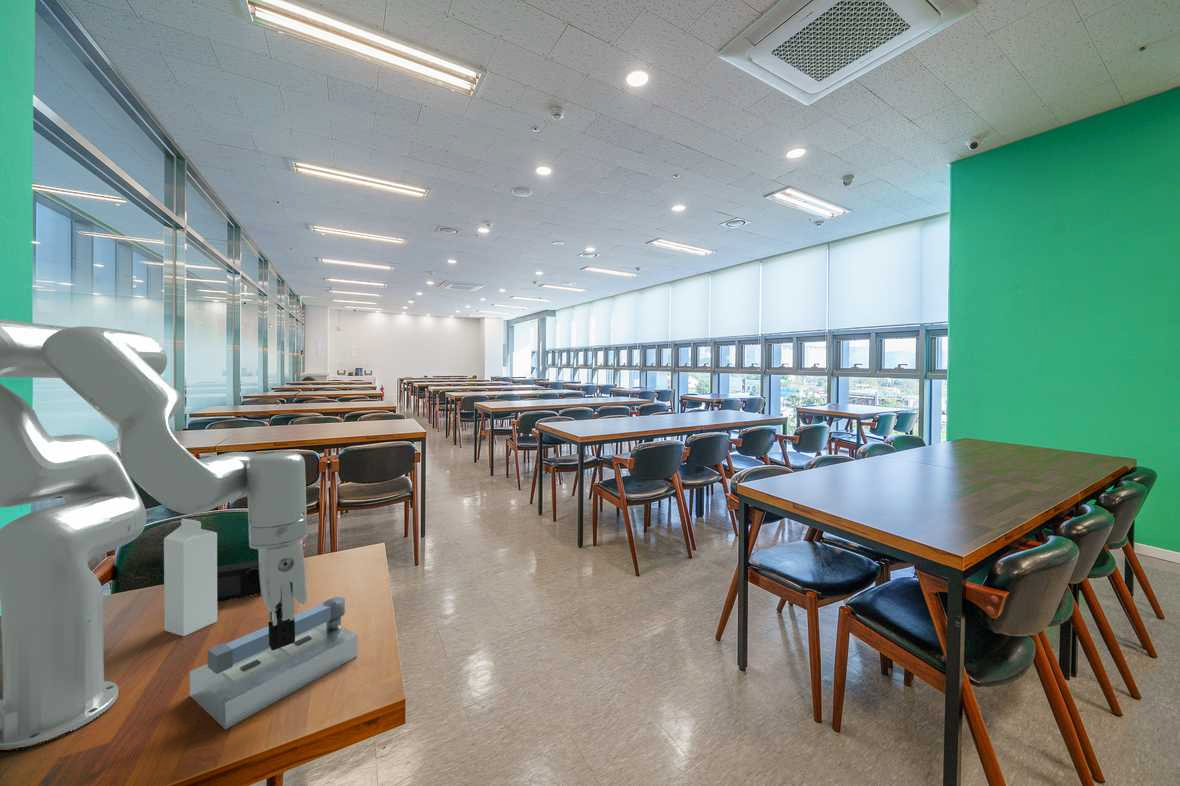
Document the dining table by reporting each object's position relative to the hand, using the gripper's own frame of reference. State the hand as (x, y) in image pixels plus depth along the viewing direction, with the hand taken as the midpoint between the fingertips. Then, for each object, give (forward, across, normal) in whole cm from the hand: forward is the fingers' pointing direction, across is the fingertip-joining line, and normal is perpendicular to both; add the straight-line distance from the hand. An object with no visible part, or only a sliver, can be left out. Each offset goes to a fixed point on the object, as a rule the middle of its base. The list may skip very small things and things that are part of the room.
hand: (282, 644), depth 70 cm
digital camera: (+8, +46, 0) cm, 47 cm away
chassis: (+9, +7, -1) cm, 11 cm away
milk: (+8, +37, +10) cm, 39 cm away
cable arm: (+2, +7, -1) cm, 7 cm away
